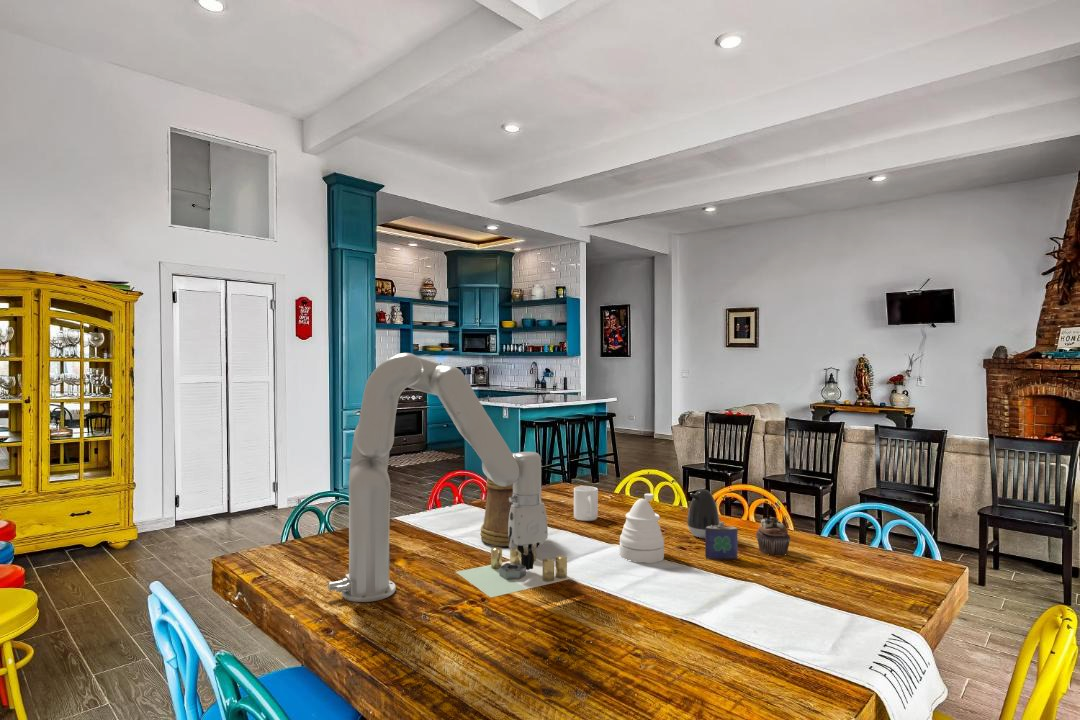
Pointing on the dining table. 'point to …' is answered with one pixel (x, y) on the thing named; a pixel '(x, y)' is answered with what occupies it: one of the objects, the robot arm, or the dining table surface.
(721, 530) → the flask
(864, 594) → the dining table surface
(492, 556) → the spacers
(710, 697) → the dining table surface
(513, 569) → the nut
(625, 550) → the honey pot
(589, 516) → the mug
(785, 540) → the cupcake
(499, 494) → the tankard
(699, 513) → the penguin figurine
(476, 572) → the mat
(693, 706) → the dining table surface
